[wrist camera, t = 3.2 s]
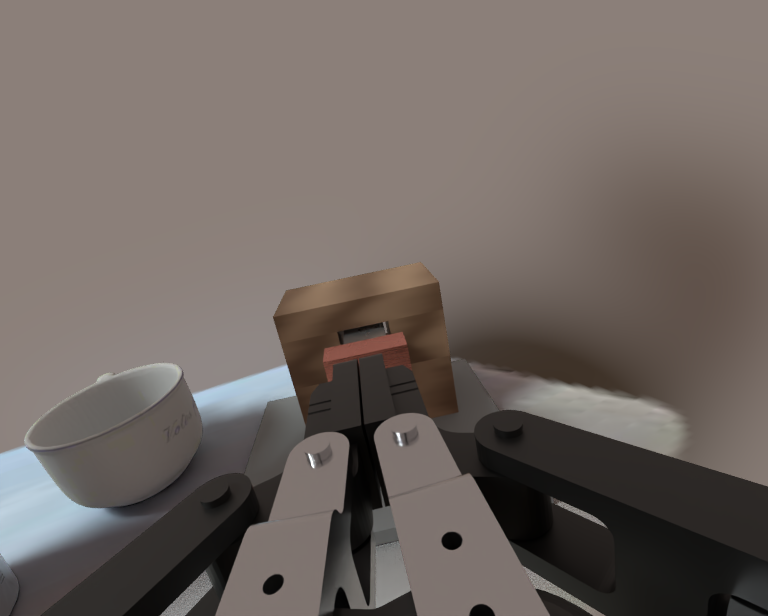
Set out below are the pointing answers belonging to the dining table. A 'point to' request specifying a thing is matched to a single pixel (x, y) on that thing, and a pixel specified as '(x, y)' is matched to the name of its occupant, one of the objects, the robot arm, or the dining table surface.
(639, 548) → the robot arm
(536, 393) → the dining table surface
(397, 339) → the red headed square peg
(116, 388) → the teacup
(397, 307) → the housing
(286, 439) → the base mat
